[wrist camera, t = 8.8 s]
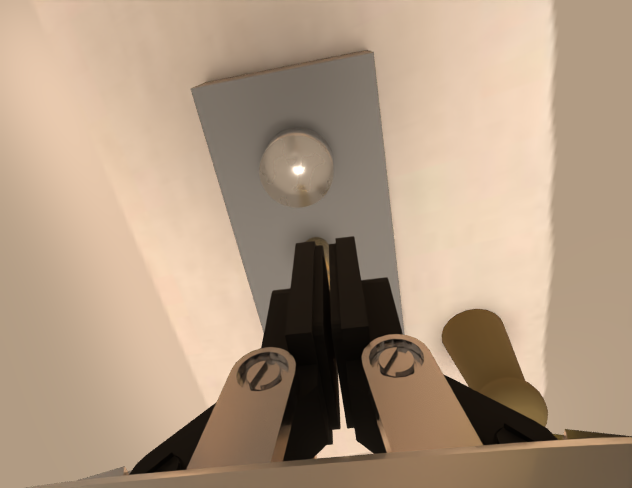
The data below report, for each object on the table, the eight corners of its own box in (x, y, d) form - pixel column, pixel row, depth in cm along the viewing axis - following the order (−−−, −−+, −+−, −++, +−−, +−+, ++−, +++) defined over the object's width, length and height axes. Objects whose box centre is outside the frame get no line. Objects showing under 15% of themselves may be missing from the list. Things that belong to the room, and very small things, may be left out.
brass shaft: (296, 236, 32) (291, 277, 26) (330, 230, 32) (331, 271, 26) (303, 265, 33) (299, 310, 28) (335, 260, 33) (337, 304, 27)
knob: (264, 123, 32) (251, 142, 26) (326, 111, 31) (326, 129, 26) (277, 183, 34) (268, 212, 28) (336, 173, 33) (338, 201, 28)
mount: (206, 82, 31) (190, 88, 27) (367, 50, 30) (373, 52, 26) (282, 351, 42) (278, 380, 39) (400, 335, 41) (407, 364, 37)
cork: (439, 358, 42) (474, 456, 32) (444, 310, 40) (483, 401, 30) (499, 356, 42) (552, 455, 32) (508, 307, 39) (570, 398, 30)
